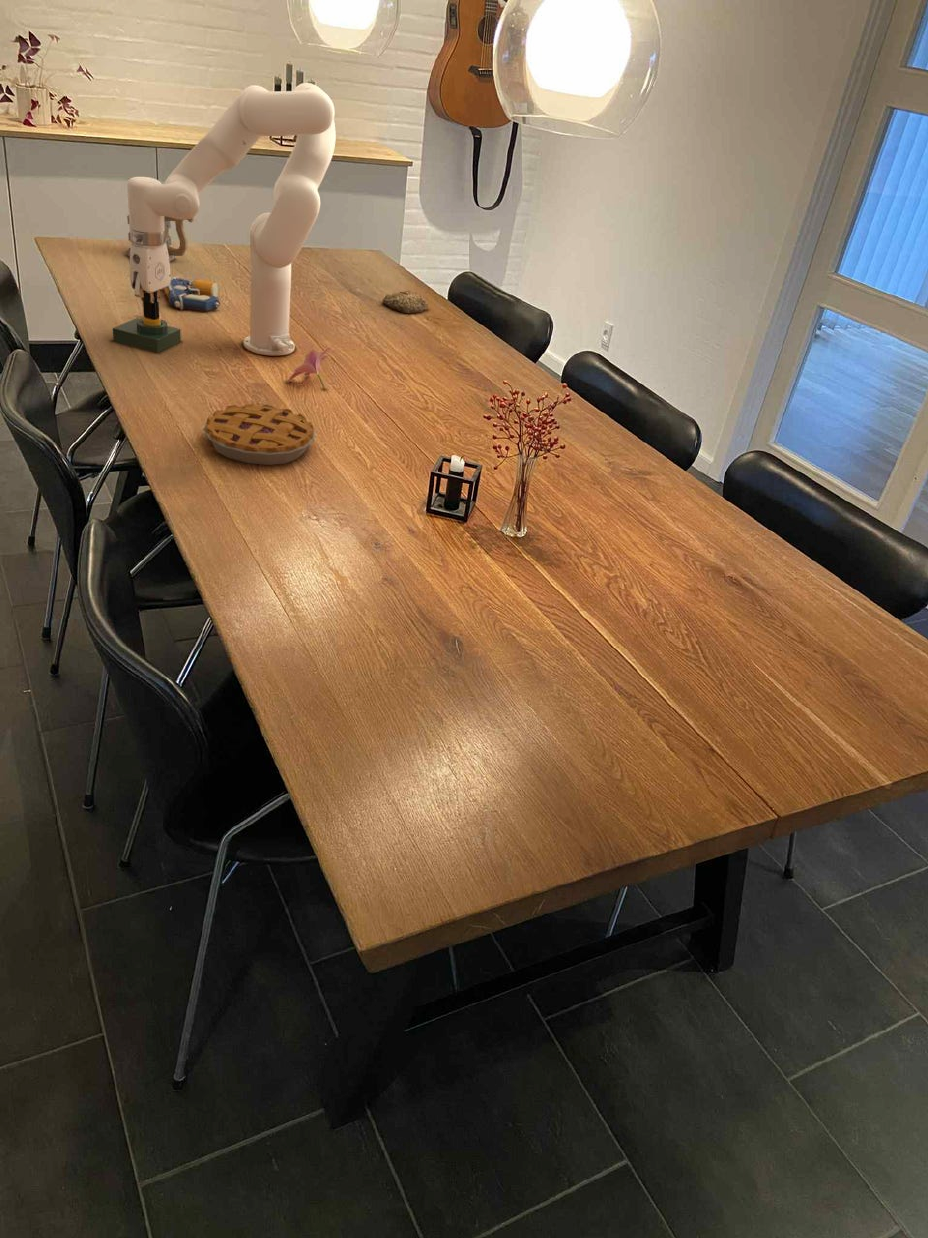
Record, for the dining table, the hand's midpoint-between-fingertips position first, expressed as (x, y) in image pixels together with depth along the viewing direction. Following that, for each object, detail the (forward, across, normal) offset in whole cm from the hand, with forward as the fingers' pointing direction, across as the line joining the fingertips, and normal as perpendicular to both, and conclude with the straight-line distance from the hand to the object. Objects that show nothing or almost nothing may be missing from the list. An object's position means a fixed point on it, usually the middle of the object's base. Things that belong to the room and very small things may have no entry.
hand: (151, 317), depth 221 cm
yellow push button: (+2, 0, 0) cm, 2 cm away
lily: (+6, +1, -42) cm, 42 cm away
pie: (+6, -35, -48) cm, 59 cm away
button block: (+6, 0, +2) cm, 6 cm away
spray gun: (+6, +35, +10) cm, 37 cm away
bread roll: (+7, +74, -38) cm, 84 cm away
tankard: (+6, +62, +37) cm, 73 cm away
